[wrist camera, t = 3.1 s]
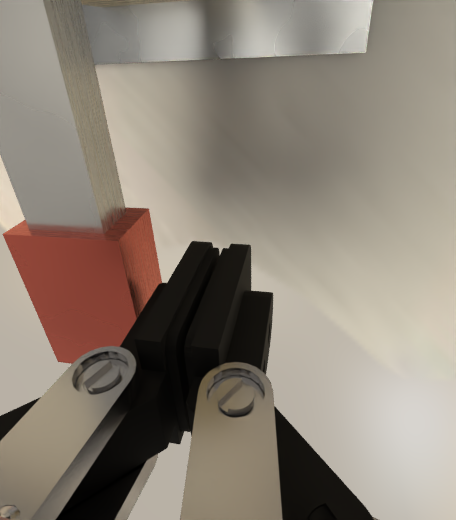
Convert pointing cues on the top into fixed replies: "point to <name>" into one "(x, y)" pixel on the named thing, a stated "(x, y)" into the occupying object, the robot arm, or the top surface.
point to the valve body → (223, 29)
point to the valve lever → (68, 184)
